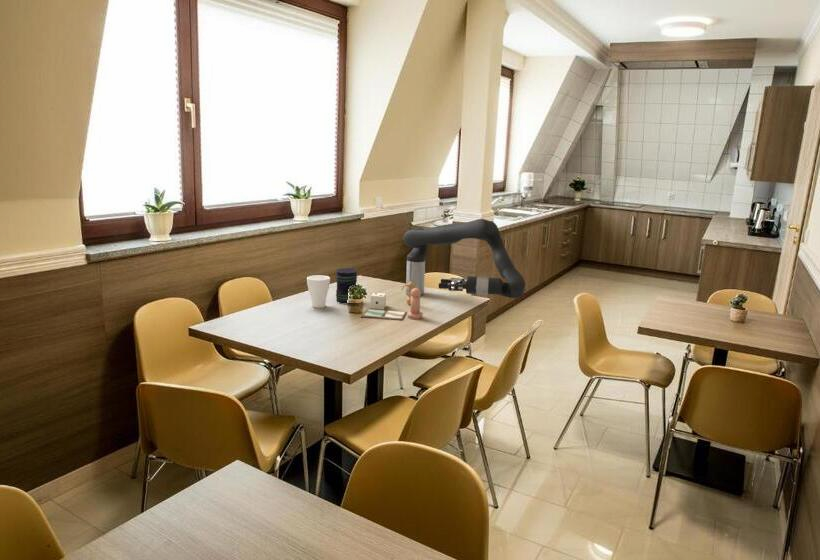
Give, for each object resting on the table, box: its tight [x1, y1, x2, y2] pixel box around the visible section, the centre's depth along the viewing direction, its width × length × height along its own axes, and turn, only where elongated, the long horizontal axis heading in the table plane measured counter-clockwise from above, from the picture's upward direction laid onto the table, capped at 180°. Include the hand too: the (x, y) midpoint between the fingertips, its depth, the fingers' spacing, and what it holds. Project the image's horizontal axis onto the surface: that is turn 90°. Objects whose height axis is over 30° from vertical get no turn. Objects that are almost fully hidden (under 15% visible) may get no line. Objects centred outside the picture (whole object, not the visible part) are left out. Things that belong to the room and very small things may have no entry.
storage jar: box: [335, 268, 358, 304], centre depth 282 cm, size 10×10×15 cm
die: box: [369, 292, 387, 310], centre depth 274 cm, size 6×6×6 cm
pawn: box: [407, 288, 423, 320], centre depth 259 cm, size 6×6×13 cm
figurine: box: [401, 281, 418, 306], centre depth 278 cm, size 8×6×12 cm
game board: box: [360, 308, 408, 321], centre depth 262 cm, size 12×18×1 cm, turn 81°
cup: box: [306, 274, 331, 309], centre depth 272 cm, size 10×10×14 cm
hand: (439, 283), depth 255 cm, fingers open, 8 cm apart
